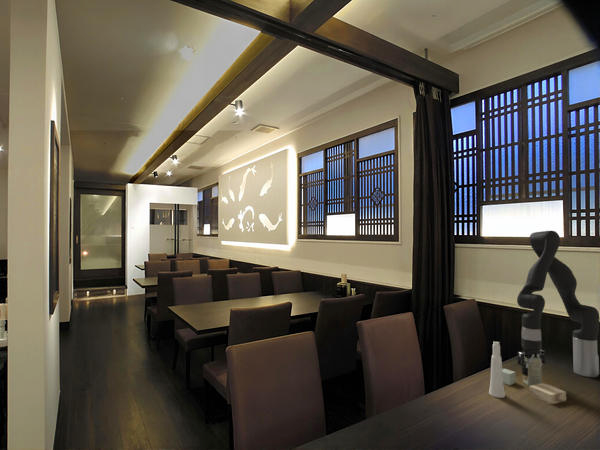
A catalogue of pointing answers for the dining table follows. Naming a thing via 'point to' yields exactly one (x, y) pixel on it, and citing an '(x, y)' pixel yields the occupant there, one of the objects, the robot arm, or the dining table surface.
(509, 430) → the dining table surface
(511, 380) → the greygreen block
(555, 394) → the maple block
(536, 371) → the skincare box
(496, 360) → the cosmetic bottle
